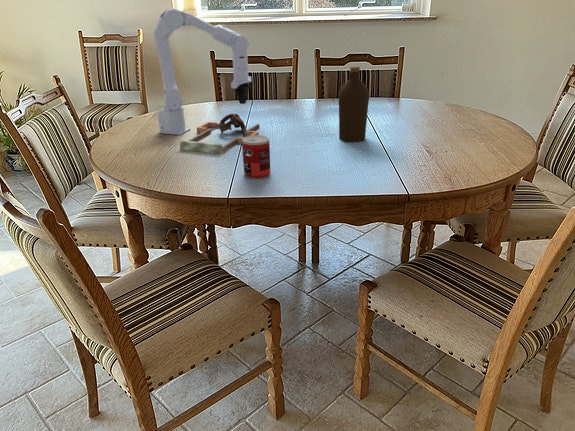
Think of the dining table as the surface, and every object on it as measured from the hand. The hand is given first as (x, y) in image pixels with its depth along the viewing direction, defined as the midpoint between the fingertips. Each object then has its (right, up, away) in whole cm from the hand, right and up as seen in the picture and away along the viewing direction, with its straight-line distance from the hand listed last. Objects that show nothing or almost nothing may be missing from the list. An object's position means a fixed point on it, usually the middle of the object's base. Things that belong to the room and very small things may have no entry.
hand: (242, 103), depth 192 cm
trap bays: (-5, -14, -9) cm, 17 cm away
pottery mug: (-3, -13, -6) cm, 14 cm away
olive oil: (+41, -17, -16) cm, 47 cm away
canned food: (+9, -32, -46) cm, 57 cm away
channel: (-6, -16, -12) cm, 21 cm away
